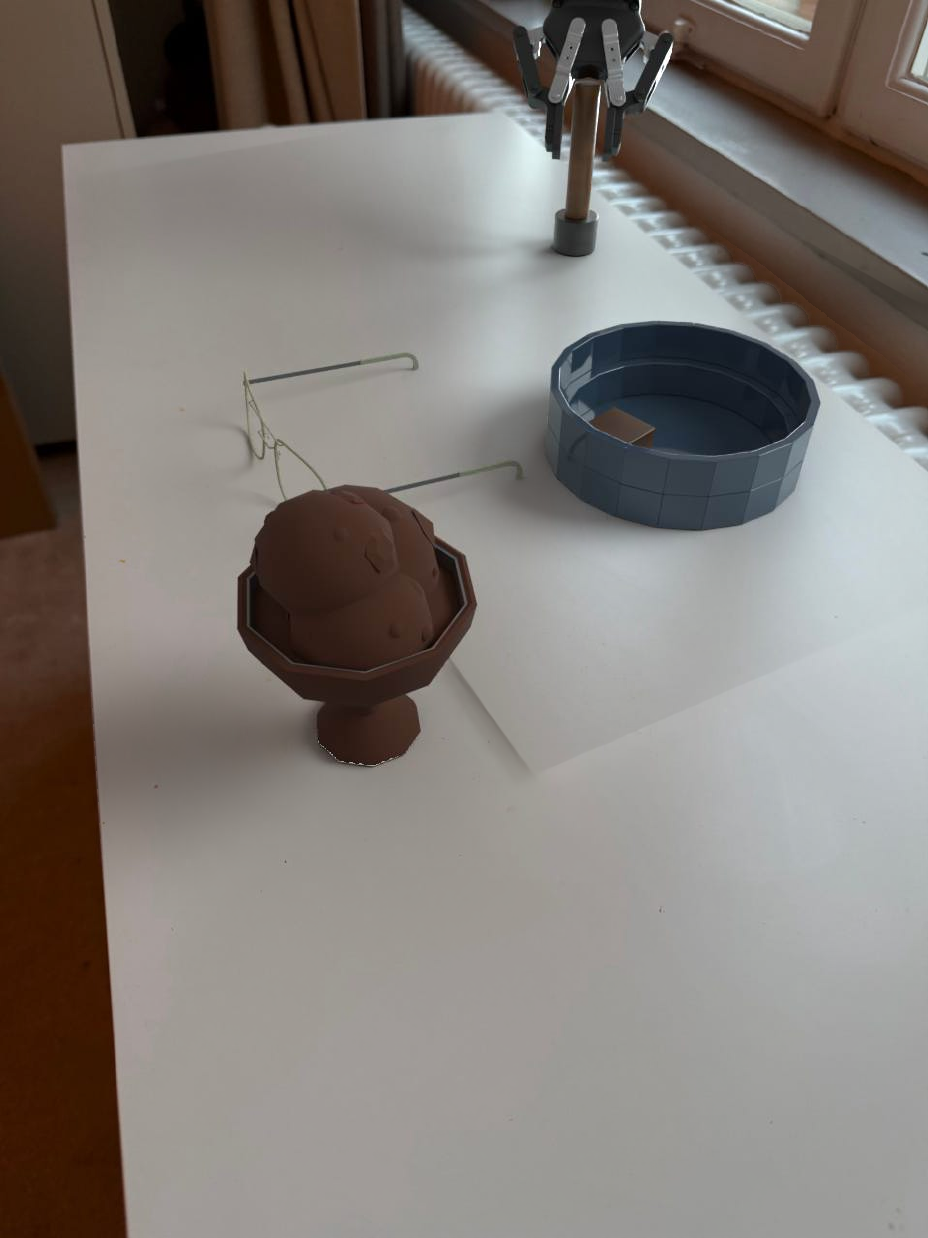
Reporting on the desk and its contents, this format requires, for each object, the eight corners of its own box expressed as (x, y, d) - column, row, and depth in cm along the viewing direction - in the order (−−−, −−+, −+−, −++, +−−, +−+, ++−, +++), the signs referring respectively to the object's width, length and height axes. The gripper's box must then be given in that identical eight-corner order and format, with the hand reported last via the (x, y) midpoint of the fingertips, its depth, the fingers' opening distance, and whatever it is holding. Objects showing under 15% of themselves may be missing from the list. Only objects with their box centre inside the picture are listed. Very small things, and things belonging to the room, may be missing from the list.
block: (608, 450, 68) (614, 406, 66) (648, 472, 67) (655, 427, 64) (574, 470, 67) (579, 426, 64) (614, 494, 65) (620, 449, 62)
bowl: (733, 382, 76) (749, 309, 72) (843, 519, 64) (869, 441, 60) (517, 408, 74) (520, 334, 69) (589, 556, 62) (598, 477, 57)
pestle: (593, 239, 95) (609, 77, 86) (596, 256, 92) (613, 90, 83) (551, 238, 95) (563, 76, 86) (553, 255, 92) (565, 89, 83)
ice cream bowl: (457, 824, 47) (458, 591, 37) (231, 792, 49) (171, 559, 38) (488, 664, 55) (496, 433, 45) (292, 640, 56) (256, 410, 46)
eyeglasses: (231, 425, 72) (220, 363, 68) (418, 376, 77) (416, 315, 73) (314, 553, 62) (306, 487, 58) (523, 486, 67) (526, 422, 63)
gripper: (514, -81, 81) (495, 129, 81) (691, -75, 80) (672, 138, 79) (517, -20, 88) (499, 172, 88) (679, -14, 87) (661, 181, 87)
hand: (581, 155), depth 84 cm, fingers open, 3 cm apart
